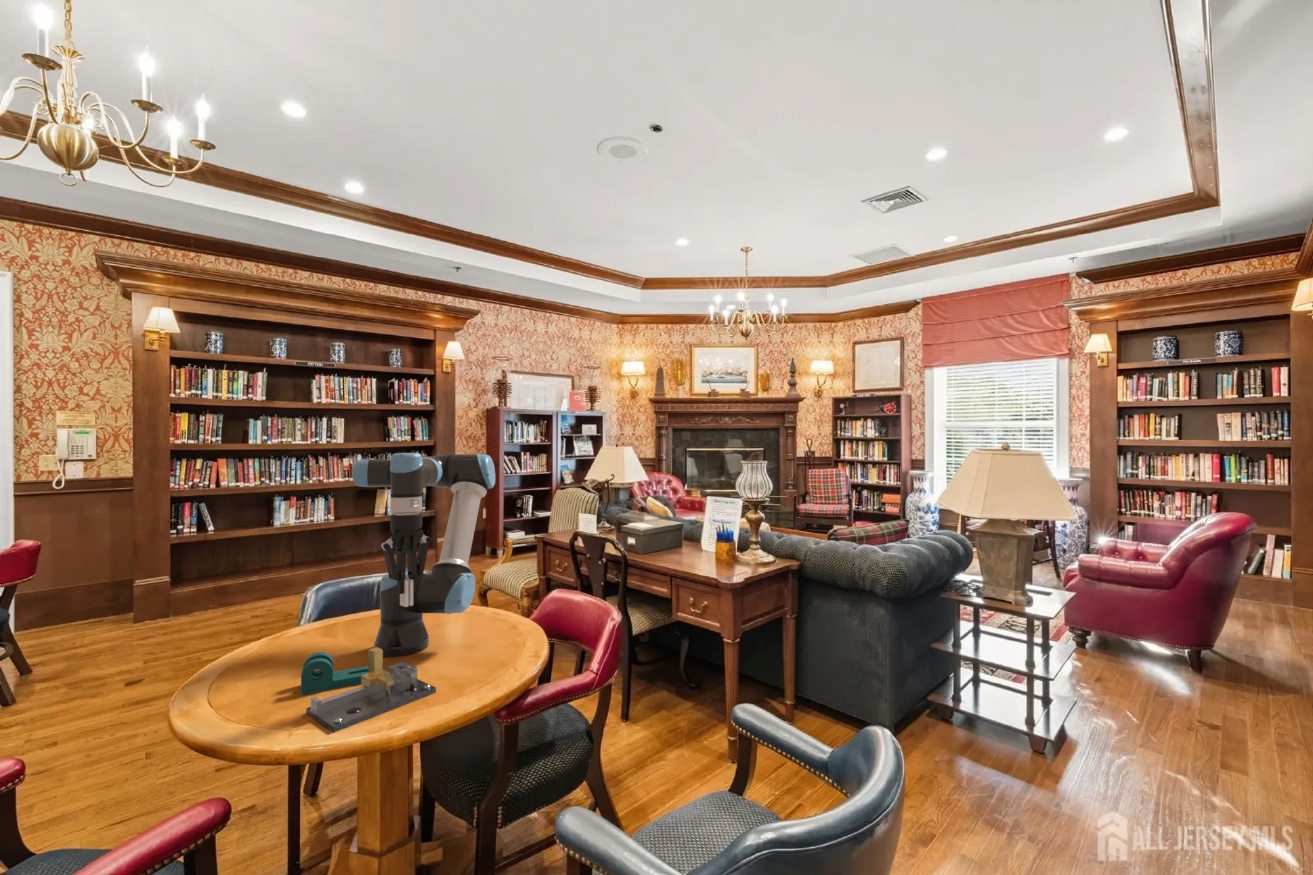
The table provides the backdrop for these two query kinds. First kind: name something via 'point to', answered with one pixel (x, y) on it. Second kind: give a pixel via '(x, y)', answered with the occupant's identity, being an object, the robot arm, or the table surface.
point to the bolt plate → (372, 705)
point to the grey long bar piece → (366, 688)
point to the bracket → (327, 674)
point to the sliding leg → (376, 671)
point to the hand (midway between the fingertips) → (406, 605)
